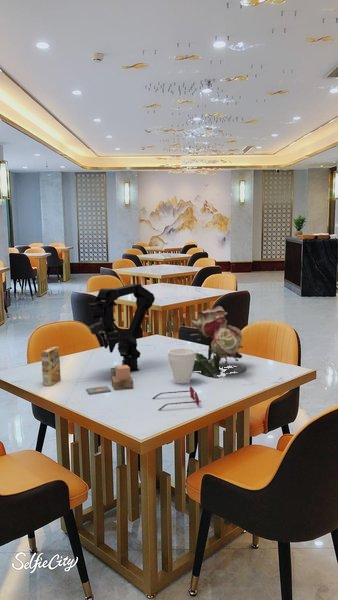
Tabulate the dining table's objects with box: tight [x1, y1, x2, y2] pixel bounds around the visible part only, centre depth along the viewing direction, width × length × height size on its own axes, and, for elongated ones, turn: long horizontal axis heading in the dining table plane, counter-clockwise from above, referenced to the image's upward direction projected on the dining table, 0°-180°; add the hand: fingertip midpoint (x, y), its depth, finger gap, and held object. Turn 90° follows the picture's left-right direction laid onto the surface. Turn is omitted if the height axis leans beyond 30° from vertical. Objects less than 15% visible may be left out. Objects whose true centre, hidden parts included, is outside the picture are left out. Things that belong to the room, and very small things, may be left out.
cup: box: [167, 347, 197, 384], centre depth 224 cm, size 12×12×14 cm
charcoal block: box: [110, 367, 116, 378], centre depth 229 cm, size 5×5×5 cm
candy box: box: [40, 346, 62, 386], centre depth 225 cm, size 9×4×15 cm, turn 163°
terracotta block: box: [114, 364, 131, 381], centre depth 218 cm, size 5×5×5 cm
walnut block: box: [110, 375, 134, 391], centre depth 219 cm, size 8×8×4 cm
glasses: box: [151, 386, 202, 411], centre depth 197 cm, size 14×16×5 cm
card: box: [85, 385, 112, 396], centre depth 213 cm, size 9×6×1 cm, turn 112°
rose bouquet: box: [189, 305, 247, 379], centre depth 242 cm, size 26×29×30 cm
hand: (108, 350), depth 234 cm, fingers open, 9 cm apart
